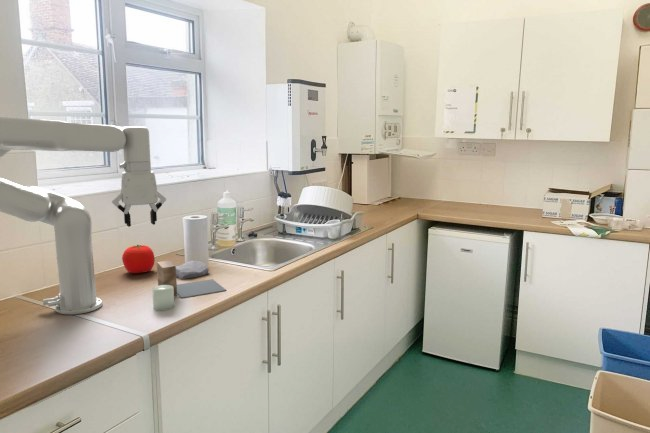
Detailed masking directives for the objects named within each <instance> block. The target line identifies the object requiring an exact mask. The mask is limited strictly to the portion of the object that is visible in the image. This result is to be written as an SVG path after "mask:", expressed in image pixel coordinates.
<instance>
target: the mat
mask: <svg viewBox="0 0 650 433" xmlns="http://www.w3.org/2000/svg"><path fill="white" fill-rule="evenodd" d="M222 292H227V289H226V288H224V287H223V286H222V285H220V284H219V283H218V282H217V281H216V280H214V279H212V278H211V279H206V280H205V279H204V280H199V281H191V282H185V283H179V284H178V283H177V297H179V298H180V299H186V298H193V297H198V296H204V295H209V294H216V293H222Z"/></svg>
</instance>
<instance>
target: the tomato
mask: <svg viewBox="0 0 650 433" xmlns="http://www.w3.org/2000/svg"><path fill="white" fill-rule="evenodd" d="M155 258H156V257H155V254H154V250H153V249H152V248H151V247H150V246H149V245H145V244H142V245H141V244H136V245H131V246H129V247H127V248H126V249H125V250H124V251H123V253H122V257H121V260H122V263H123V267H124V268H125V270H126V271H128V272H129V273H131V274H144V273H146V272H150V270H152V268H154V265H155Z"/></svg>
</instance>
